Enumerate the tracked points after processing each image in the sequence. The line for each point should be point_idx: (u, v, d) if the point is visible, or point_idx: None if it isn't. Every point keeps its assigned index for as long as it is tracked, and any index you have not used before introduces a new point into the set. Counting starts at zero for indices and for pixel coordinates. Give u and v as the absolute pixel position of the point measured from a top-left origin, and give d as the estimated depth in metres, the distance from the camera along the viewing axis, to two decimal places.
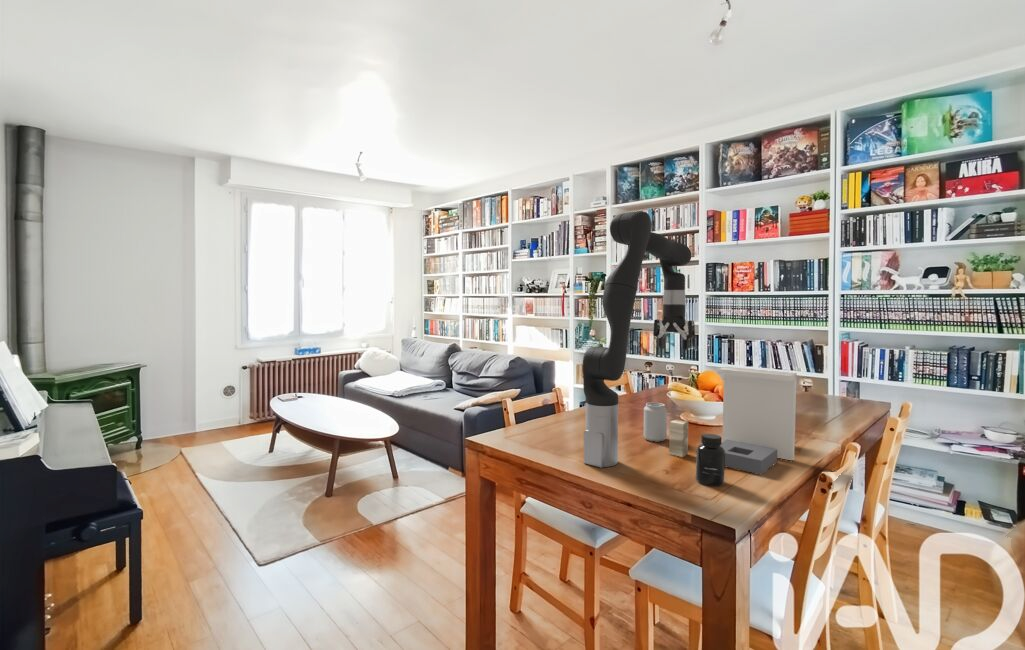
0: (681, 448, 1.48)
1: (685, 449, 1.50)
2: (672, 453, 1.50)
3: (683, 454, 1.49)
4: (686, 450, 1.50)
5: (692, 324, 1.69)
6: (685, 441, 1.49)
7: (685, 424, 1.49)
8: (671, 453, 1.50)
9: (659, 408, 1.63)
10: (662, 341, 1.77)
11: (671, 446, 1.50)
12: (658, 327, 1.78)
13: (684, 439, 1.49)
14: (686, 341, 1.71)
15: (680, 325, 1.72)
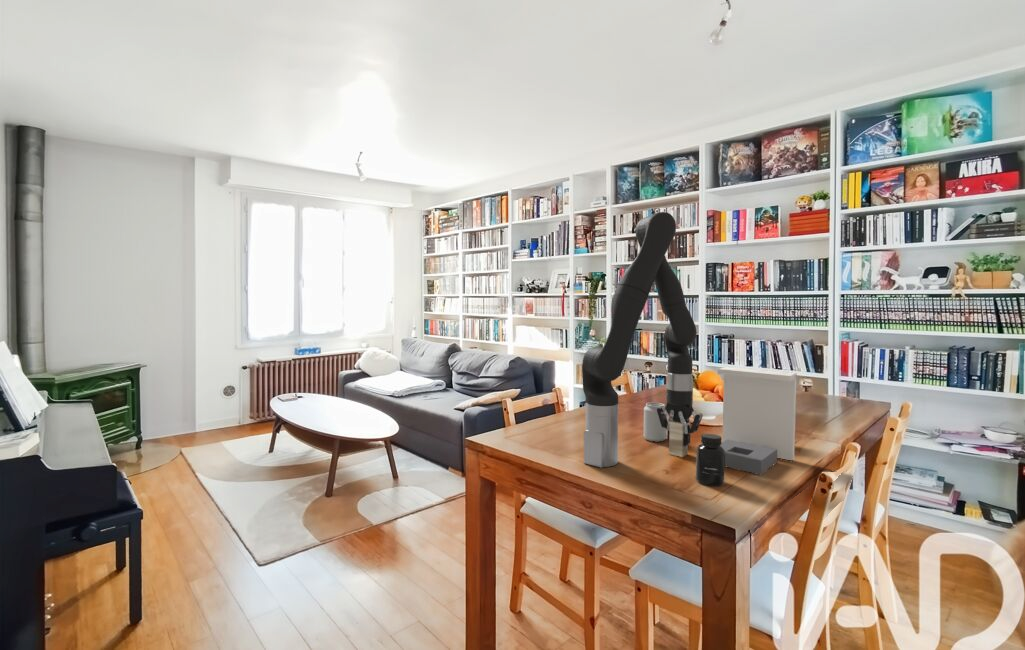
0: (681, 448, 1.48)
1: (685, 449, 1.50)
2: (672, 453, 1.50)
3: (683, 454, 1.49)
4: (686, 450, 1.50)
5: (699, 419, 1.46)
6: None
7: None
8: (671, 453, 1.50)
9: None
10: None
11: (671, 446, 1.50)
12: (664, 416, 1.53)
13: None
14: (687, 435, 1.48)
15: (686, 416, 1.48)
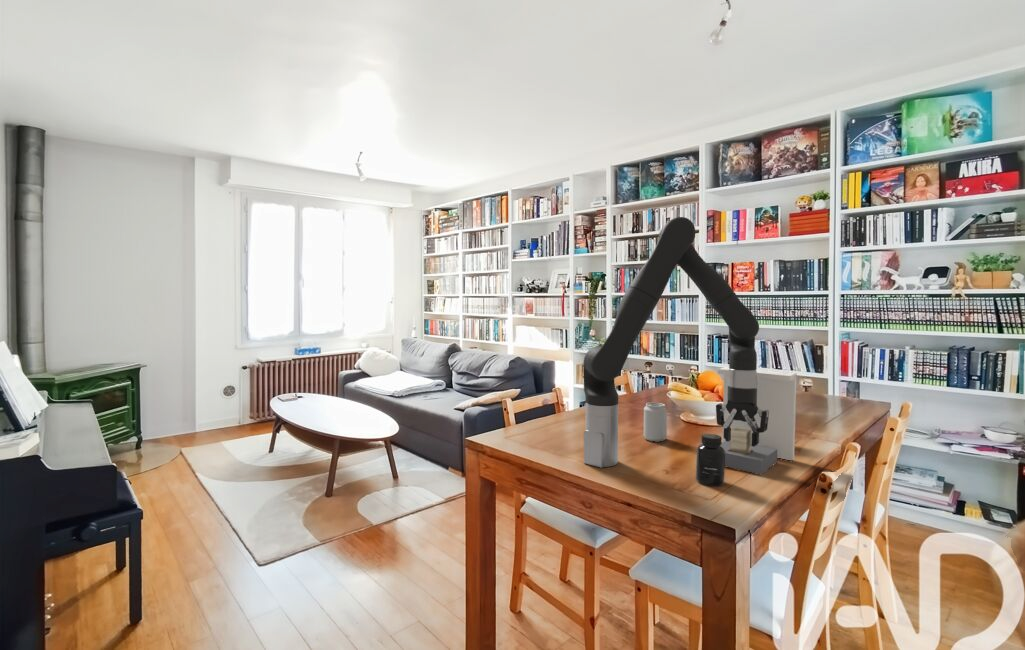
0: None
1: None
2: None
3: None
4: None
5: (767, 416, 1.36)
6: (748, 451, 1.40)
7: (748, 432, 1.40)
8: None
9: (659, 408, 1.63)
10: (728, 432, 1.43)
11: None
12: (722, 413, 1.44)
13: (747, 448, 1.39)
14: (756, 435, 1.37)
15: (751, 414, 1.38)
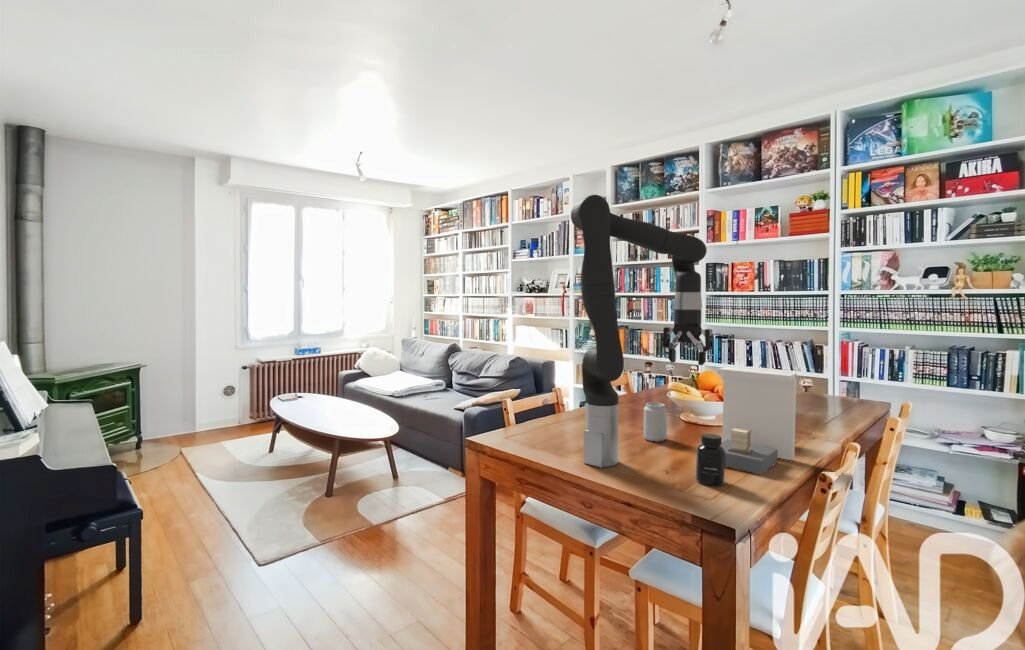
0: None
1: None
2: None
3: None
4: None
5: (710, 333, 1.40)
6: (748, 451, 1.40)
7: (748, 432, 1.40)
8: None
9: (659, 408, 1.63)
10: (673, 353, 1.48)
11: None
12: (668, 336, 1.49)
13: (747, 448, 1.39)
14: (702, 354, 1.42)
15: (695, 334, 1.43)
